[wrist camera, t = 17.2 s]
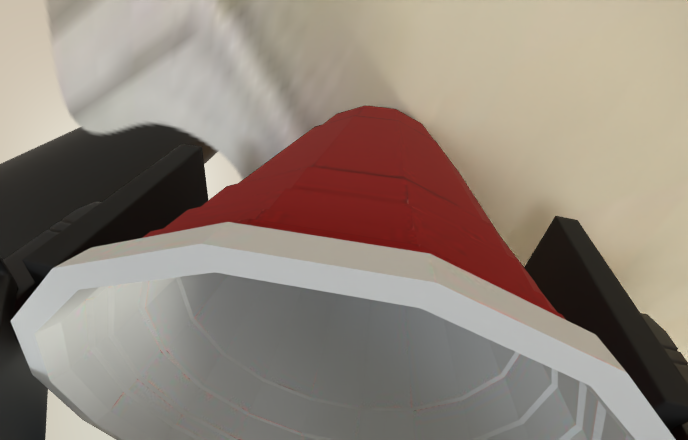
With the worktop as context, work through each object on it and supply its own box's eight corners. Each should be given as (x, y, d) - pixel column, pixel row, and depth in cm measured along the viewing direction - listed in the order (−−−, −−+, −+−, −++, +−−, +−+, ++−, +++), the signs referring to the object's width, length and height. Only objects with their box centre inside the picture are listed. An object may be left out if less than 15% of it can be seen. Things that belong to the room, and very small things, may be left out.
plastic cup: (246, 226, 19) (74, 492, 9) (273, 0, 12) (-200, 87, 3) (435, 284, 19) (461, 601, 9) (555, 92, 13) (1013, 458, 3)
